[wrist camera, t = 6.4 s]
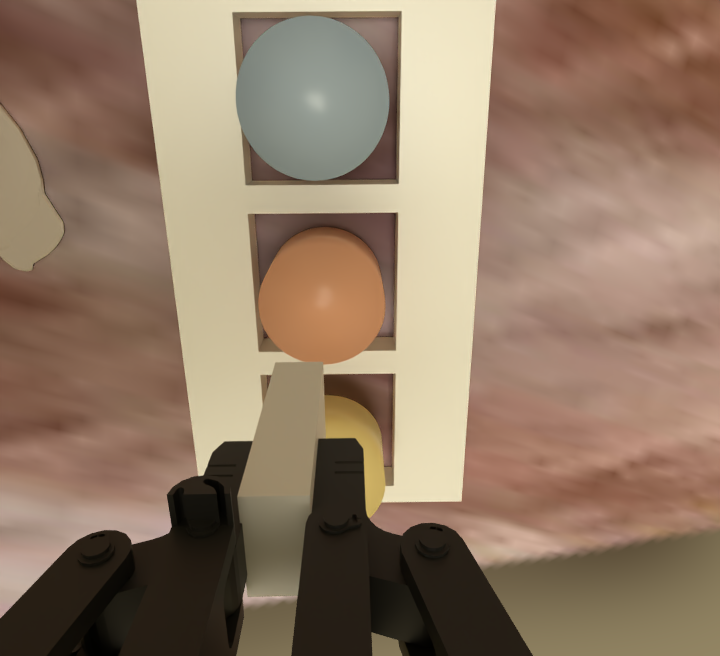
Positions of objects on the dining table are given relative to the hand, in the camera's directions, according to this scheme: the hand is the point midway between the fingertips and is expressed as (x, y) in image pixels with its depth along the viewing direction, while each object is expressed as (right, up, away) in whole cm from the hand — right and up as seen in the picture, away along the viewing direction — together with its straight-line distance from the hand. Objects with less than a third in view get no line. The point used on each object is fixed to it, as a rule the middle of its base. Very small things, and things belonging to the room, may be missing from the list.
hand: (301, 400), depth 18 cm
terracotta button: (0, +5, +13) cm, 13 cm away
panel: (0, +5, +14) cm, 15 cm away
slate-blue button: (0, +13, +8) cm, 15 cm away
